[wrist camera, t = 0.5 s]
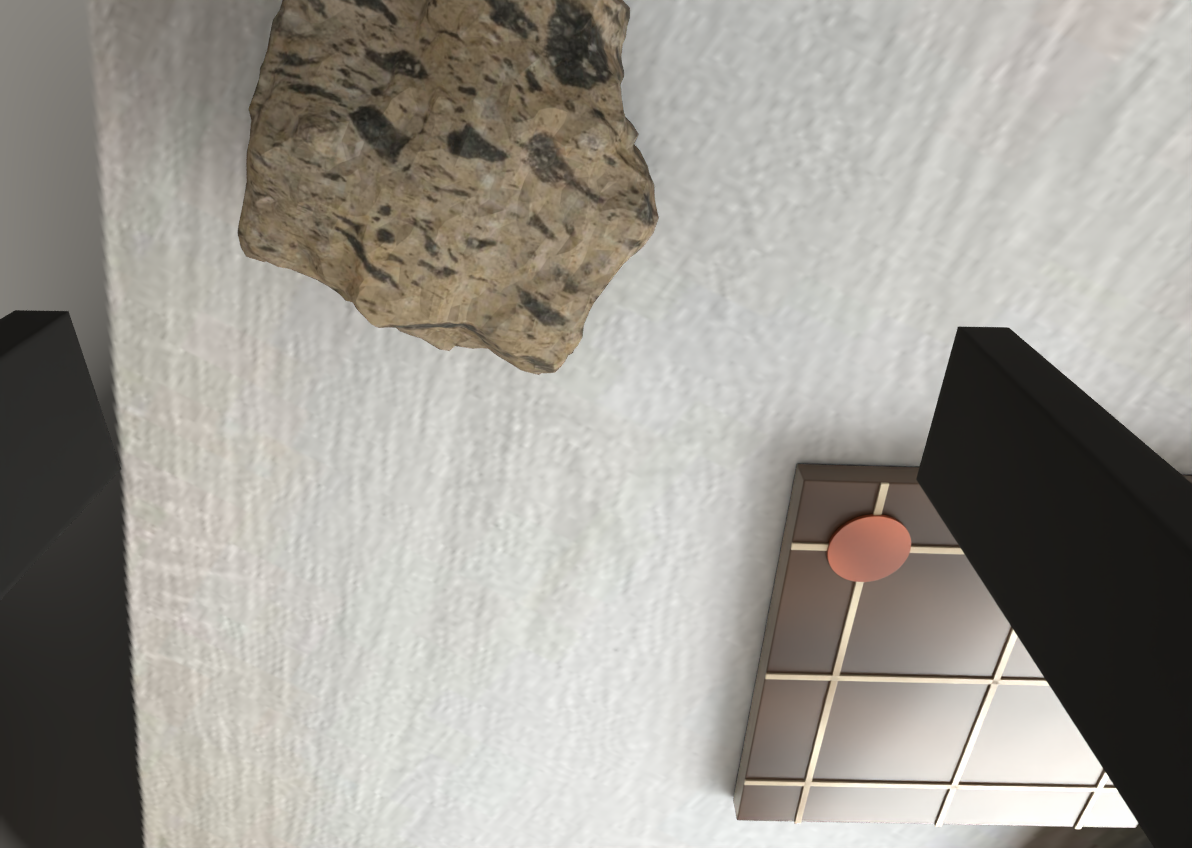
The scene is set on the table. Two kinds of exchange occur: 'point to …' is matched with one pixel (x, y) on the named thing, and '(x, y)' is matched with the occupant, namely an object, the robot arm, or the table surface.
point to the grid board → (902, 678)
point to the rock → (450, 165)
